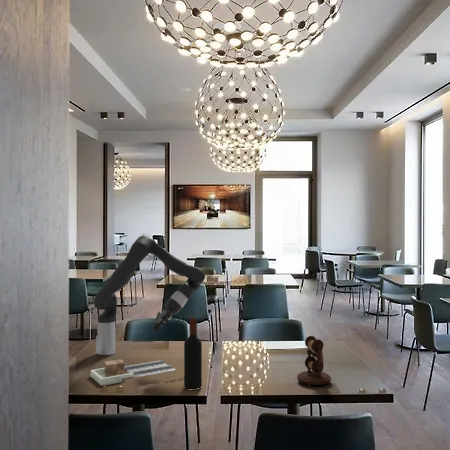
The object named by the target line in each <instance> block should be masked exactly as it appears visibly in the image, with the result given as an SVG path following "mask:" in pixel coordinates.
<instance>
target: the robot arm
mask: <svg viewBox="0 0 450 450" xmlns="http://www.w3.org/2000/svg"><path fill="white" fill-rule="evenodd" d="M149 254H151V255H153V256H154V257H156V258H157V259H159V260H160V261H161V262H162V264H163V265H164V266H165V267H166V268H167V269H168V270H170V271H171V272H173V273H174V274H176V275H178V276H180V277H186V278H187V279H186V280H185V282H184V283H183V284H181V285H180V286H179V288H178V289H177V290H176V291H175V292H174V293H173V294H172V295H171V296H170V298H169V299H168V300H167V301H166V302H165V303H164V306H165V308H164V309H163V310H162V311H161V312H160V311H158V312H157V314H156V317H155V324H154V325H152V327H151V330H152V331H153V332H157V331H158V330H159V329H160V328H161V327H162V326H166V325H167V324H169V323H170V322H171V321H173V320H174V319H173V316H174V315H177V314H179V313H180V311H181V310H182V309H183V308H184V307H185V305H186V303H187V301H189V299H190V298H191V297H192V296H193V295H194V293H195V291H197V289H198V288H199V287H200V286H201V285H202V284H203V282H204V281H205V279H206V274H205V272H204V271H203V270H202V269H201V268H199V267H196V266H194V265H192V264H188V263H187V262H185V261H184V260H182V259H180V258H178V257H177V256H175V255H173V254H172V253H170V252H168V251H167V250H166V249H165V248H164V247H162V246H161V245H160V244H159V243H157V242H156V241H154V240H153V239H152V238H151V237H150V236H147V235H140V236H138V237H137V238H136V240H135V241H134V242H133V243H132V244H131V247H130V249H129V250H128V253H127V254H126V256H125V258H124V259H123V260H122V261H120V263H119V264H118V265H117V266H116V268H115V270H114V271H113V272H112V274H111V275H110V277H109V278H108V279H107V281H106V282H105V284H104V285H103V286H102V288H101V289H99V290H98V292H97V293H96V294H95V296H94V299H93V305H94V308H95V309H96V310H104V311H103V312H101V314H99V315H98V316H97V335H96V336H95V348H96V349H95V354H96V355H99V356H111V355H115V353H116V317H117V309H118V308H117V307H118V299H117V295H116V293H117V292H119V291H120V290H121V289H123V288H124V287H126V286H127V284H128V283H129V282H130V280H131V279H132V278H133V276H134V274H135V272H136V269H137V267H138V266H139V264H141V263H142V261H143V260H144V259H146V257H148V256H149Z"/></svg>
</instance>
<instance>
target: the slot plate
mask: <svg viewBox="0 0 450 450" xmlns="http://www.w3.org/2000/svg"><path fill="white" fill-rule="evenodd" d="M176 370H177V369H176V368H174V367H173V365H172V364H169V365H168V364H167V363H165V360H155V361H149V362H143V363H138V364H132V365H124V371H127V373H134V377H135V378H140V377H145V376H149V375H156V374H157V375H158V374H161V373H167V372H172V371H176Z"/></svg>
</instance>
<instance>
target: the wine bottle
mask: <svg viewBox="0 0 450 450" xmlns="http://www.w3.org/2000/svg"><path fill="white" fill-rule="evenodd" d="M202 346H203V344H202V340H201V339H200V338H199V337H198V336H197V317H193V316H192V317H191V316H190V317H189V336H188V337H187V338H186V339H185V340H184V343H183V358H184V359H183V373H184V374H183V376H184V377H183V382H184V384H183V388H184V387H185V388H186V389H185V388H184V389H185V390H187V389H197V388H200V387H201V386H202V382H203V380H202V379H203V377H202V376H203V375H202V374H203V373H202V369H203V368H202V367H203V365H202V364H203V359H202V356H203V355H202V354H203V353H202V350H203V347H202Z"/></svg>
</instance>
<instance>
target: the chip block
mask: <svg viewBox="0 0 450 450" xmlns="http://www.w3.org/2000/svg"><path fill="white" fill-rule="evenodd" d="M124 367H125V362H124V360H123V359H114V360H104V368H105V376H106V377H111V376H117V375H122V374H125V369H124Z"/></svg>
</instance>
